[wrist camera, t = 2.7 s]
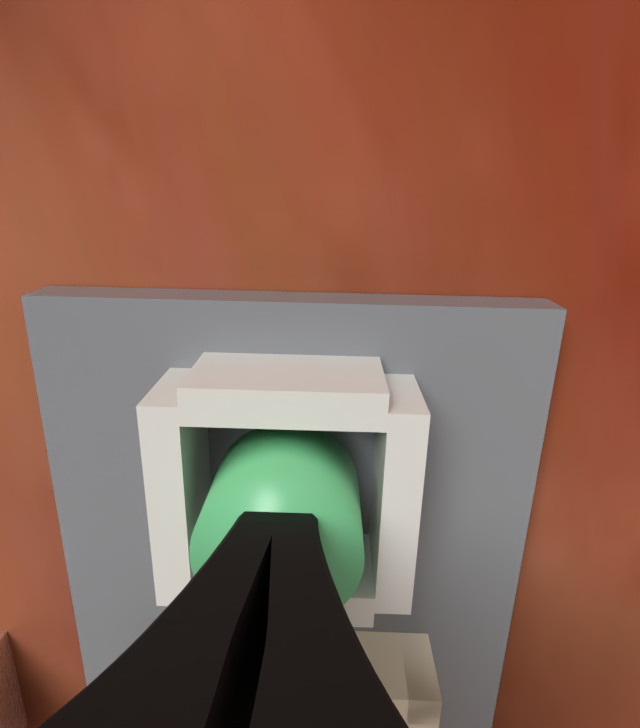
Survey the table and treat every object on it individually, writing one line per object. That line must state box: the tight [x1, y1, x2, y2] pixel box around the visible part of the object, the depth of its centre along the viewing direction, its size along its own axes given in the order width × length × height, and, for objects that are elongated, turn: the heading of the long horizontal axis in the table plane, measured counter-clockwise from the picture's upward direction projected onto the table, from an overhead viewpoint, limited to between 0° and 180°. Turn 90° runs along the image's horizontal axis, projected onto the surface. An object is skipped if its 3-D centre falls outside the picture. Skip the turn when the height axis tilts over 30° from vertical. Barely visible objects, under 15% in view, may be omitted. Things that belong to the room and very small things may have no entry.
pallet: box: [21, 285, 567, 728], centre depth 14 cm, size 12×18×3 cm, turn 179°
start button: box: [189, 429, 365, 605], centre depth 11 cm, size 3×3×2 cm
